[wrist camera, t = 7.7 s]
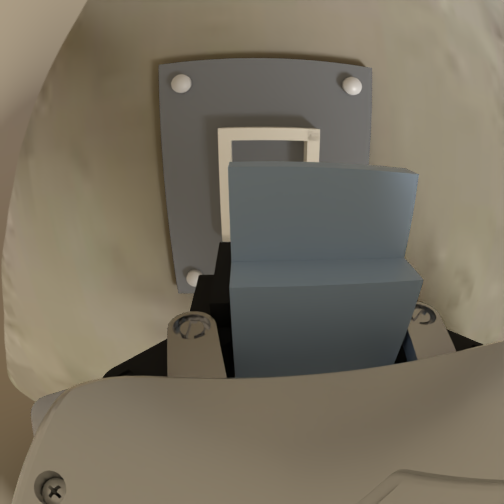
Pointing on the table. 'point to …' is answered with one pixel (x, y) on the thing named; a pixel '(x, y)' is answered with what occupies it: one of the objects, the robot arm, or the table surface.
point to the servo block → (319, 266)
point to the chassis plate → (248, 136)
